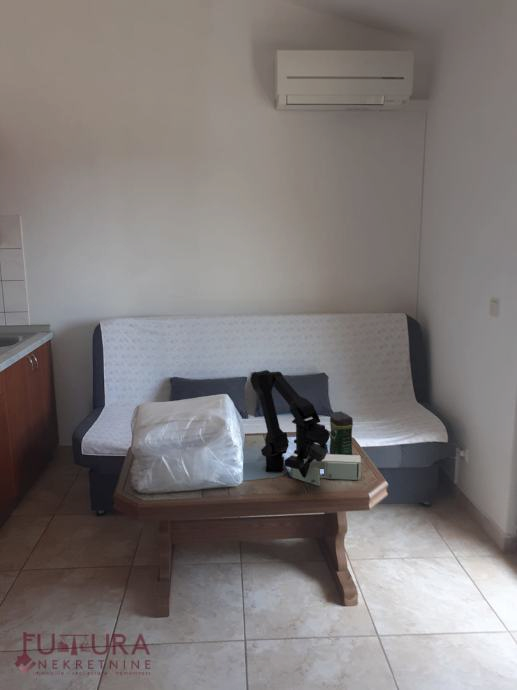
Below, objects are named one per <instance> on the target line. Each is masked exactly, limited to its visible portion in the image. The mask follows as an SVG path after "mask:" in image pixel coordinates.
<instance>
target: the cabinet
mask: <svg viewBox="0 0 517 690" xmlns="http://www.w3.org/2000/svg"><path fill="white" fill-rule="evenodd" d="M291 455H292V456H297V454H294V452H292V453H291ZM361 459H362V458H361V455H359V454H358V455H355V454H352V455H334V454H330V453H329V454H328V453H327V454H326V456H325V459H323V460H322V461H321V462H318V461H316V460H315V459H314V460H313V461H312V462H311V463H310V466H312V467H315V468H319V469H324V474H322V475H320V479H330V480H351V481H357V480H361V477H362V476H361V473H362V471H361V469H362V467H361V465H362V462H361V461H362V460H361Z"/></svg>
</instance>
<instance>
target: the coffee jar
mask: <svg viewBox="0 0 517 690" xmlns="http://www.w3.org/2000/svg"><path fill="white" fill-rule="evenodd" d="M353 424H354V421H353V417H352V416H350V415H349V414H347V413H345V412H343V411H335V412H334V411H333V412H332V413H331V414H330V418H329V425H330V436H329V439H330V440H329V454H334V455H353V441H352V440H353V436H352V435H353Z"/></svg>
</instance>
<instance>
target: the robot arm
mask: <svg viewBox="0 0 517 690" xmlns="http://www.w3.org/2000/svg"><path fill="white" fill-rule="evenodd" d="M250 383H251V385H252V389H253V390H254V392H256V393H257V395H258V396H259V400H260V405H261V409H262V413H263V414H262V415H263V417H264V422H265V427H266V431H267V432H266V436H265V439H264V440H265V445H264V446H263V448H261V449H260V451H261V455H262V456H264V457H265V469H264V471H265V472H267V473H283V470H284V468H285V467H287V468H290V469H291V468H295V469H299V471H300V473H301V475H302V477H304V478H305V477H306V476H307V472H308V469H309V466H310V463H311V462H312V461H313V460H314V459H315V460H316V461H318V462H321V461H322V460H323V459H325V456H326V454H328V453H329V446H328V444H327V443H328V441H330V440H329V439H330V435H331V433H330V432H329V430H328V429H327V428H326V425H325V424H320V423H321V420H320V416H319V414H318V412H317V410H316V408H315V405H314V404H312V403H311V402H310V401H309V399H308V398H305V397H302V396H301V395H299V394H298V392H297V391H296V390H295V389H294V388H293V387H292V385H290V383H289V382H288V381H287V380H286V378H285V377H284V375H283V373H282V372H281V371H270V370H267V369H265V370H260V371H256V372H253V373H252V374H251V375H250ZM273 387H274V388H275V390H276V391H277V392H278V394H279V395H280V396H281V397H282V398H283V400H284V401H285V402H286V403H287V404H288V406H289V412H290V414H291V415H292V417H293V418H294V419H293V420H292V421H291V423H293V424H294V425H295V439H294V440H293V444H295V448H296V449H294V451H293V453H294V454H297V456H292V454H291V455H290V456H288V457H287V458H286V459H285V457H284V456H283V455H284V454H286V453H287V452H288V451H287V450H288V448H289V443H290V441H289V439H288V434H287V432H286V431H285V432H284V431H283V430H282V429H281V428H280V423H279V419H278V415H277V411H276V405H275V401H274V398H273V389H274V388H273Z"/></svg>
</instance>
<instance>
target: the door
mask: <svg viewBox="0 0 517 690" xmlns="http://www.w3.org/2000/svg"><path fill="white" fill-rule="evenodd" d="M291 478H292V479H296V480H300V481H303V482H306V483H309V484H312V485H315V486H318V487H319V486H320V485H321V484H320V483H321V478H320V469H319V468H315V467H312V466H309V469H308V472H307V476H306V477H305V478H304V477H302V475H301V473H300V471H299V469H295V468H291V467H290V479H291Z"/></svg>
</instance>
